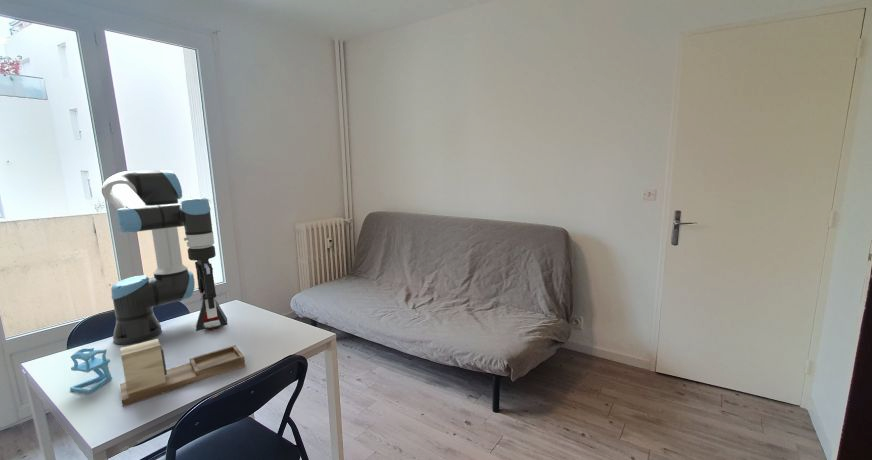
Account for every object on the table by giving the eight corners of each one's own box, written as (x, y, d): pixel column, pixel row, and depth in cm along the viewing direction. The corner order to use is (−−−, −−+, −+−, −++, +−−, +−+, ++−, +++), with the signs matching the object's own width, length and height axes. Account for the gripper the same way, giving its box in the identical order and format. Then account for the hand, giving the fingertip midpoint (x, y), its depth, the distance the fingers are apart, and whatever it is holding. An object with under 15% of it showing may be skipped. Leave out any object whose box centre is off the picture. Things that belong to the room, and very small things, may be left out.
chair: (118, 378, 121) (112, 343, 119) (89, 393, 113) (82, 356, 111) (99, 376, 123) (93, 341, 121) (69, 390, 115) (62, 353, 113)
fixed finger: (126, 385, 114) (120, 348, 112) (165, 373, 120) (160, 337, 118) (127, 394, 109) (121, 355, 107) (168, 381, 116) (162, 344, 114)
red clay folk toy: (216, 331, 155) (211, 296, 152) (199, 331, 155) (194, 296, 152) (226, 323, 162) (222, 290, 160) (210, 324, 162) (206, 290, 160)
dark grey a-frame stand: (195, 331, 122) (190, 295, 120) (196, 325, 127) (191, 290, 126) (227, 325, 127) (223, 290, 125) (227, 319, 132) (222, 285, 130)
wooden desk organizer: (120, 389, 115) (119, 379, 115) (236, 354, 136) (235, 345, 135) (122, 406, 107) (120, 395, 106) (245, 366, 128) (244, 356, 127)
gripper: (182, 244, 127) (191, 309, 131) (193, 252, 113) (203, 326, 117) (207, 240, 132) (215, 304, 136) (221, 248, 118) (230, 319, 122)
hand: (209, 314), depth 126 cm, fingers closed on dark grey a-frame stand, 6 cm apart
